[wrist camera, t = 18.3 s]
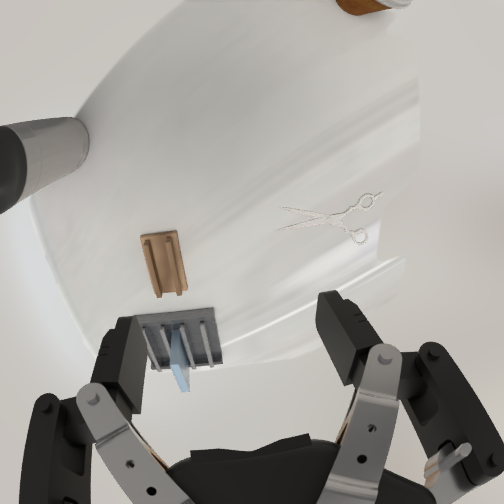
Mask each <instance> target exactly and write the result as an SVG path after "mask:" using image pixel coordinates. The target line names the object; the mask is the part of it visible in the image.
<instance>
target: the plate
mask: <svg viewBox="0 0 504 504" xmlns="http://www.w3.org/2000/svg"><path fill="white" fill-rule="evenodd" d="M170 367H171V369H172V372H173V374H174V376H175V378H176V381H177V383H178V385H179V388H180V390H181V392H189V358H188V354H187V351H186V348H185V345H184V342H183V339H182V335H181V332H180V329H179V330H172V338H171V352H170Z"/></svg>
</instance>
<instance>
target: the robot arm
mask: <svg viewBox="0 0 504 504" xmlns="http://www.w3.org/2000/svg"><path fill="white" fill-rule="evenodd" d="M88 148H89V137H88V133H87V130H86V128H85V127H84V125H83V124H82V123H81V122H80V121H79V120H77V119H76V118H72V117H61V118H50V119H41V120H33V121H26V122H20V123H14V124H9V125H3V126H0V214H2V213H3V212H5V211H7V210H8V209H10V208H11V207H12V206H14V205H15V204H17V203H19V202H20V201H22V200H23V199H25V198H26V197H28V196H30V195H31V194H33V193H35V192H36V191H38V190H40V189H41V188H43V187H45V186H47V185H48V184H50V183H52V182H54V181H56V180H57V179H59V178H61V177H63V176H65V175H67V174H69V173H71V172H73V171H74V170H76V169H77V168H79V166H80V165H81V164H82V163H83V161H84V160H85V158H86V156H87V153H88ZM315 321H316V328H317V331H318V333H319V335H320V337H321V339H322V341H323V343H324V345H325V347H326V349H327V352H328V354H329V355H330V357H331V360H332V362H333V364H334V366H335V368H336V370H337V372H338V374H339V376H340V378H341V380H342V383H343V385H344V386H346V385H349V384H353V385H354V387H355V390H354V393H353V396H352V399H351V402H350V405H349V408H348V411H347V413H346V416H345V419H344V422H343V424H342V427H341V429H340V431H339V434H338V436H337V438H336V441H335V443H333V442H330V441H325V440H317V439H310V436H309V433H307V434H303V435H299V436H295V437H291V438H285V439H281V440H278V441H276V442H274V443H271V444H269V445H267V446H264V447H262V448H259V449H257V450H254V451H236V450H228V449H208V450H191V451H190V453H191V457H189V458H186V459H184V460H181V461H179V462H177V463H175V464H174V465H173V466H171V467H170V468H169V467H168V466H167V465H166V463H165V462H164V461H163V460H162V459H161V458H160V457H159V456H158V455H157V454H156V453H155V451H154V450H153V449H152V448H151V446H150V445H149V444H148V443H147V442H146V440H145V439H144V438H143V436H142V435H141V434H140V432H139V431H138V430H137V428H136V427H135V426H134V424H133V423H132V422H131V420H132V414H141V405H142V394H143V386H144V377H145V369H146V362H147V355H148V348H147V342H146V339H145V337H144V335H143V332H142V330H141V327H140V325H139V322H138V320H137V318H136V316H127V317H119V318H118V320H117V323H116V326H115V329H110V330H109V331H108V332H107V333H106V335H105V336H104V337H103V340H102V343H101V346H100V347H101V348H100V349H99V353H98V356H97V359H96V363H95V366H94V370H93V374H92V377H91V381H90V383H89V384H87V385H85V386H83V387H82V388H81V389H80V390H79V392H78V394H77V396H76V397H73V398H68V399H64V400H59V399H58V398H57V396H55V395H54V394H51V393H46V394H43V395H41V396H40V397H39V398H38V399H37V400H36V402H35V404H34V408H33V412H32V416H31V420H30V424H29V429H28V434H27V439H26V444H25V450H24V456H23V463H22V471H21V480H20V494H19V504H91V496H90V495H91V491H90V490H91V487H90V485H91V484H90V483H91V457H92V443H96V444H95V447H96V449H97V451H98V453H99V455H100V456H101V458H102V460H103V461H104V463H105V464H106V466H107V467H108V469H109V471H110V472H111V474H112V475H113V476H114V478H115V479H116V481H117V482H118V484H119V485H120V487H121V488H122V489H123V491H124V492H125V493H126V495H127V496H128V497H129V499H130V500H131V501H132V503H133V504H451V503H453V502H454V501H456V500H457V499H459V498H460V497H462V496H463V495H465V494H466V493H468V492H470V491H472V490H474V489H475V488H477V487H479V486H481V485H483V484H485V483H486V482H488V481H490V480H492V479H493V478H495V477H497V476H498V475H500V474H501V473H502V472H503V471H504V443H503V441H502V439H501V437H500V435H499V433H498V431H497V430H496V428H495V426H494V424H493V422H492V421H491V419H490V417H489V415H488V414H487V412H486V410H485V408H484V407H483V405H482V403H481V402H480V400H479V399H478V397H477V395H476V394H475V392H474V390H473V389H472V387H471V386H470V384H469V383H468V381H467V380H466V378H465V377H464V375H463V374H462V372H461V371H460V369H459V368H458V366H457V365H456V363H455V362H454V360H453V359H452V357H451V356H450V355H449V353H448V352H447V350H446V349H445V348H444V347H443V346H442V345H440V344H439V343H436V342H426V343H424V344H423V345H422V346H421V347H420V349H419V351H418V352H400V351H399V350H398V349H397V348H396V347H394V346H392V345H390V344H384V343H383V341H382V340H381V339H380V337H379V336H378V334H377V333H376V331H375V330H374V328H373V327H372V326H371V324H370V323H369V321H367V318H366V317H365V316H364V314H363V313H362V311H361V310H360V309H359V307H358V306H357V305H356V304H355V303H353V302H352V301H350V300H349V299H345V300H343V299H342V297H341V296H340V294H339V293H338V292H337V291H336V290H332V291H327V292H321V293H319V295H318V302H317V310H316V319H315ZM398 400H401V402H402V404H403V406H404V408H405V410H406V412H407V414H408V416H409V418H410V420H411V422H412V424H413V426H414V429H415V431H416V433H417V435H418V437H419V439H420V442H421V444H422V446H423V448H424V450H425V453H426V455H427V457H428V461H427V462H426V464H425V469H424V477H425V479H426V482H425V485H424V486H423V485H420V484H418V483H415V482H413V481H411V480H408V479H406V478H404V477H402V476H399V475H397V474H395V473H393V472H391V471H389V470H386V469H384V466H385V463H386V459H387V456H388V452H389V448H390V445H391V440H392V437H393V432H394V428H395V424H396V419H397V414H398V409H399V401H398Z"/></svg>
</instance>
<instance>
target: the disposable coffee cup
mask: <svg viewBox="0 0 504 504" xmlns="http://www.w3.org/2000/svg"><path fill="white" fill-rule="evenodd" d="M336 1H337V3H338V5H339V6H340V7H341V8H342V9H343V10H344V11H346V12H347V13H349V14H352V15H356V16H357V15H364V14H368V13H372V12H376V11H381V10H386V9H391V8H396V9H402V8H406V7H408V6H409V5H410V3H411V2H412V1H413V0H336Z"/></svg>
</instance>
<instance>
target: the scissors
mask: <svg viewBox="0 0 504 504" xmlns="http://www.w3.org/2000/svg"><path fill="white" fill-rule="evenodd" d="M382 195H383V192H380V193H379V194H377V195H375V196H373V195H371V194H364V195H363V196H361V197H360V199H359V200H358V203H357V204H356V205H355V206H352V207H349V208H348V210H346V211H345V212H344V213H339V214H334V215H329V216H328V215H324V214H320V213H315V212H310V211H304V210H297V209H292V208H284V207H280V208H283V209H286V210H289V211H292V212H296V213H299V214H302V215H306V216H310V217H318V218H317V219H314V220H310V221H306V222H303V223H299V224H296V225H293V226H289V227H286V228H283V229H290V228H298V227H306V226H313V225H320V224H326V223H329V224H332V225H336V226H339V227H342V228H344V230H345V232H347V233H351V235H352V239H353V241H354V242H355V243H356V244H358V245H362V244H364V243H365V242H366V241H367V240H368V233H367V232H366V231H365V230H363V229H359V230H357V231H355V232H354V231H349V230H348V229H347V228H346V227H345V226H344V225H343V223H342V222H341V221H340V219H341V218H342V217H343V216H345V215H346V214H347V213H348V212H350V211H351V210H353V209H357V208H360V209H362V210H363V211H364V212H365V211H367V210H369V209H370V208H372V206H373V205H374V203H375V199H377V198H378V197H379V196H382ZM365 197H371V199H372V203H371V205H370V206H368V207H362V206H361V202H362V200H363V199H364V198H365ZM279 230H282V229H279ZM358 233H364V234H365V235H366V238H365V240H364V241H363V242H361V243H359V242H357V241H356V240H355V235H356V234H358Z"/></svg>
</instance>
